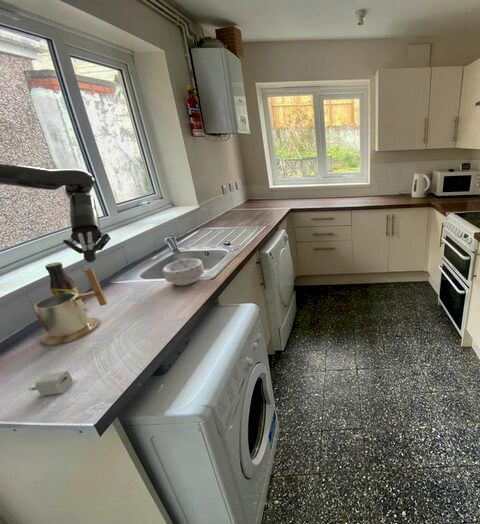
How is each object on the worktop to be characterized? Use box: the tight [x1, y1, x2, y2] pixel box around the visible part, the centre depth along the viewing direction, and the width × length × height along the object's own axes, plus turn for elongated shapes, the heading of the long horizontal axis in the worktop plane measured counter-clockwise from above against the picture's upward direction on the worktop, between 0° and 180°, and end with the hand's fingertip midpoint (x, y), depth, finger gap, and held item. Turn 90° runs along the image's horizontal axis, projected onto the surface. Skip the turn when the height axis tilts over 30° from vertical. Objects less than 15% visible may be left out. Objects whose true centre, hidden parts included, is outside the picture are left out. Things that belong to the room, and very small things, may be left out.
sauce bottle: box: [45, 261, 86, 311], centre depth 101 cm, size 6×6×20 cm
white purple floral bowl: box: [162, 258, 205, 286], centre depth 126 cm, size 15×15×8 cm
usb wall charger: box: [28, 370, 74, 397], centre depth 70 cm, size 4×7×4 cm, turn 99°
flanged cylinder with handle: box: [33, 267, 108, 339], centre depth 92 cm, size 16×10×19 cm, turn 120°
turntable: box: [40, 317, 100, 346], centre depth 94 cm, size 14×14×1 cm
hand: (90, 261), depth 98 cm, fingers closed
